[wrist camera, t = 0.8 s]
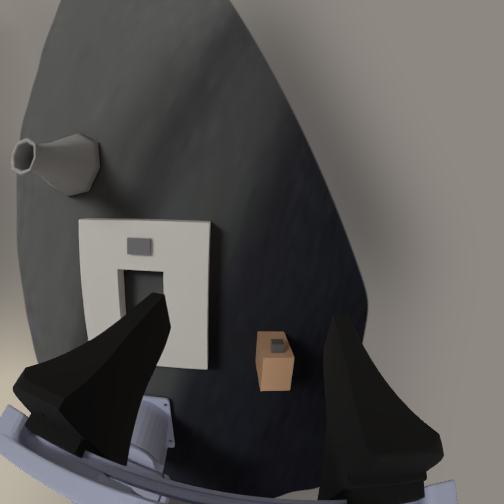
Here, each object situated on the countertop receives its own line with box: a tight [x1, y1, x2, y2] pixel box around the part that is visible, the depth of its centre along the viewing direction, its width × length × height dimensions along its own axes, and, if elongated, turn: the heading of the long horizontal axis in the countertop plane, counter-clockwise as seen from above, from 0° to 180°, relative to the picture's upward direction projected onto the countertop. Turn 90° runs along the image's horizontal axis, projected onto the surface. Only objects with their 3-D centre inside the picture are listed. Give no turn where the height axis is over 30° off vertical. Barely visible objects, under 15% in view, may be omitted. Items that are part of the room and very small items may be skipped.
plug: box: [256, 331, 294, 391], centre depth 31 cm, size 5×3×6 cm, turn 177°
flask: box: [11, 133, 100, 196], centre depth 24 cm, size 7×7×10 cm
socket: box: [79, 218, 211, 369], centre depth 31 cm, size 16×14×2 cm
